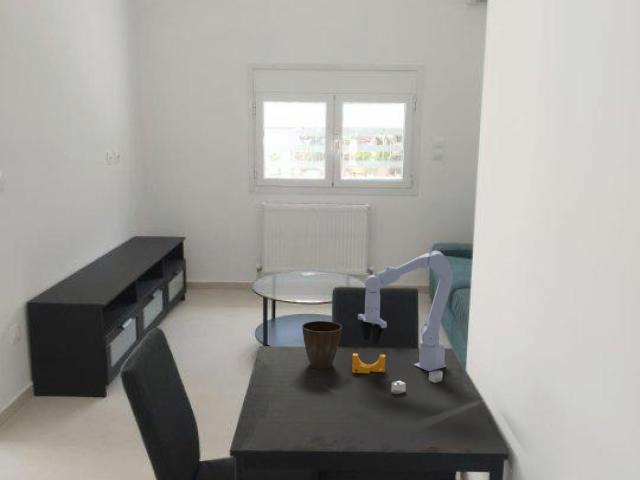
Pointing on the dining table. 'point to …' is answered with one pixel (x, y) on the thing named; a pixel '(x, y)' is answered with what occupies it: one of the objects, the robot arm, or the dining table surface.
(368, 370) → the pipe clamp
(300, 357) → the dining table surface
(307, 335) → the plant pot
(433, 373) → the chain ends
